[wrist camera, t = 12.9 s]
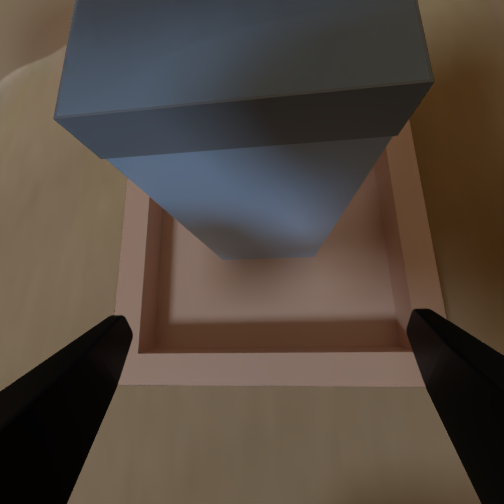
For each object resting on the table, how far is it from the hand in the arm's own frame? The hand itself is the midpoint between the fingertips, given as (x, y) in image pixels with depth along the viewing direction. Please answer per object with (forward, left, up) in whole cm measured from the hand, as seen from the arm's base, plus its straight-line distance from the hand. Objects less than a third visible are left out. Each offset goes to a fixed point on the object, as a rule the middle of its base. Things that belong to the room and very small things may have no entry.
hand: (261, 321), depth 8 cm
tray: (-2, +5, -9) cm, 10 cm away
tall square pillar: (-2, +6, -8) cm, 10 cm away
